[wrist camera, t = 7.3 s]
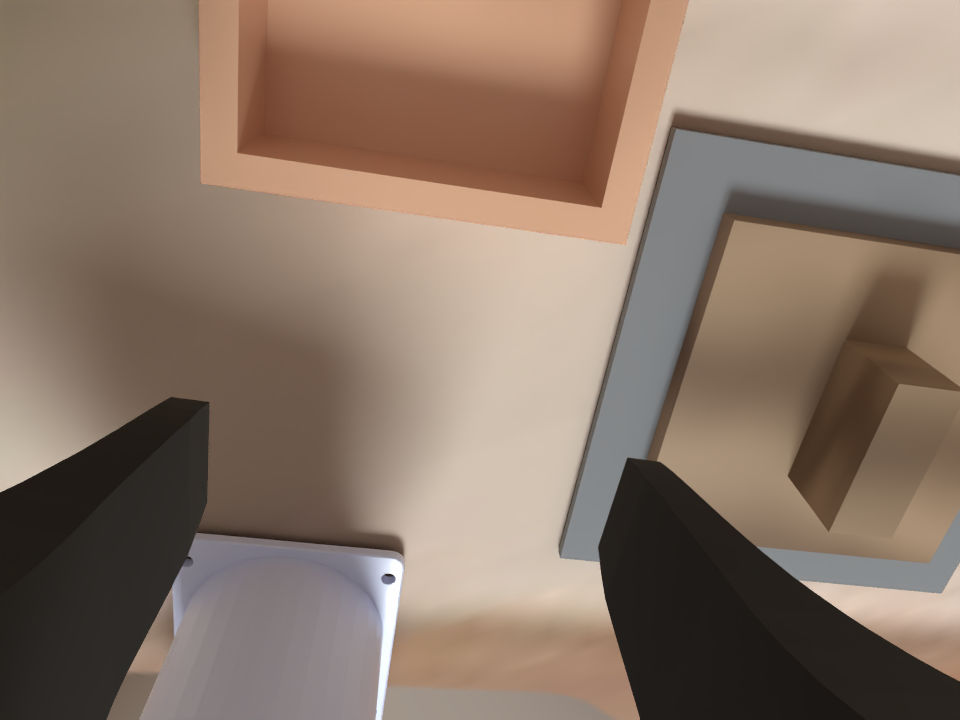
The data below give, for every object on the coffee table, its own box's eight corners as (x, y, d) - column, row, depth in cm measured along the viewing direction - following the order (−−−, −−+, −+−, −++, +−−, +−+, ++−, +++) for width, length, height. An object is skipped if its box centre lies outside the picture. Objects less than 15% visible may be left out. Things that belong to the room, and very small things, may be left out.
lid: (915, 548, 26) (982, 624, 23) (627, 519, 25) (654, 595, 22) (1070, 265, 21) (1181, 311, 18) (723, 212, 20) (777, 251, 17)
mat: (934, 585, 28) (941, 593, 27) (558, 550, 26) (560, 558, 26) (1154, 206, 21) (1166, 210, 21) (671, 126, 19) (675, 128, 19)
